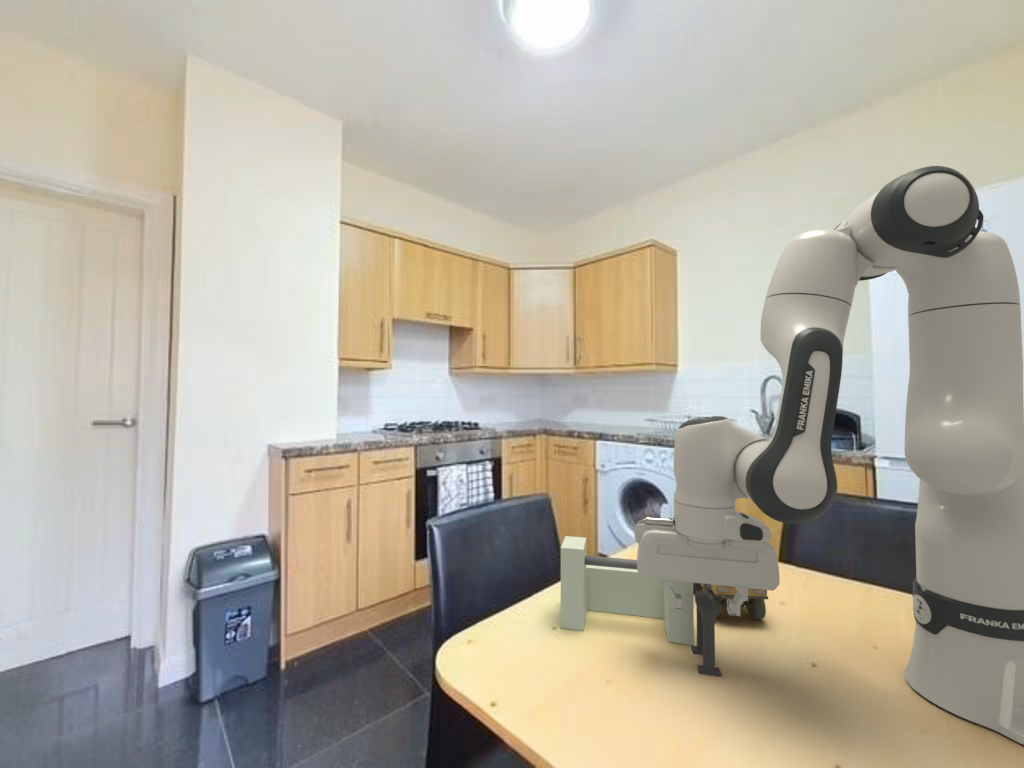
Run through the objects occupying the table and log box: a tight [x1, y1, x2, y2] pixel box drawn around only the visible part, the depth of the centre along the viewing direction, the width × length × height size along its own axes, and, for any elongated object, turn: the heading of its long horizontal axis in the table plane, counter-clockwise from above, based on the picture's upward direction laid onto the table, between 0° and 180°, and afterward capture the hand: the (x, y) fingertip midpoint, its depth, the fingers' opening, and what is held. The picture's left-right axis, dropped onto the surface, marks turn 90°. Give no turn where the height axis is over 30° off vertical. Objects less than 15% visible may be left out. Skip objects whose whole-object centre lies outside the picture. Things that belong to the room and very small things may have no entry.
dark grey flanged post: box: [691, 590, 722, 678], centre depth 68 cm, size 3×7×9 cm, turn 166°
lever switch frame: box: [560, 535, 695, 646], centre depth 80 cm, size 22×10×14 cm, turn 76°
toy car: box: [693, 583, 769, 620], centre depth 88 cm, size 10×19×15 cm, turn 174°
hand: (704, 610), depth 68 cm, fingers open, 7 cm apart
